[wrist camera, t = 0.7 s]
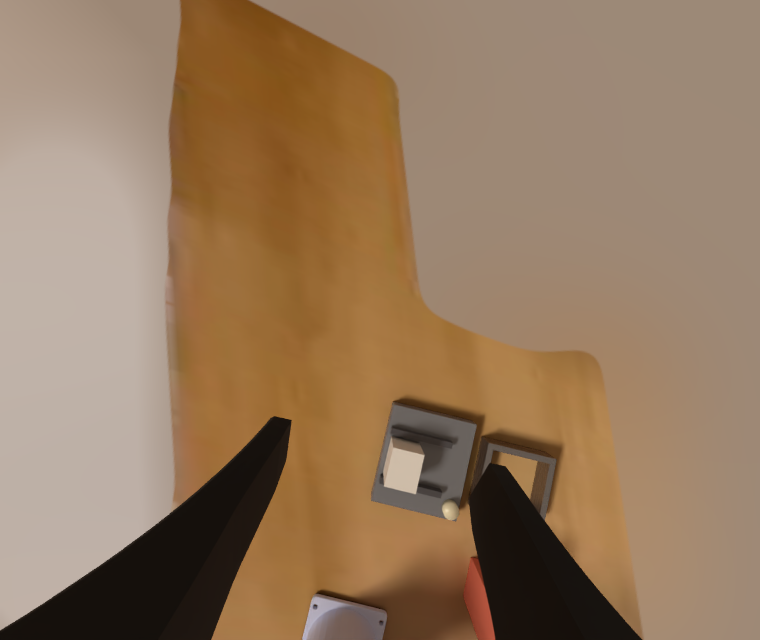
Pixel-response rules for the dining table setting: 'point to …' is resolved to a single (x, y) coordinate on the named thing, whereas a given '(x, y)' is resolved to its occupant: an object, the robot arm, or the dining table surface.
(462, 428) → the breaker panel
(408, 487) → the switch
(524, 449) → the frame
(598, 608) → the robot arm
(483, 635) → the peg
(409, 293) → the dining table surface
